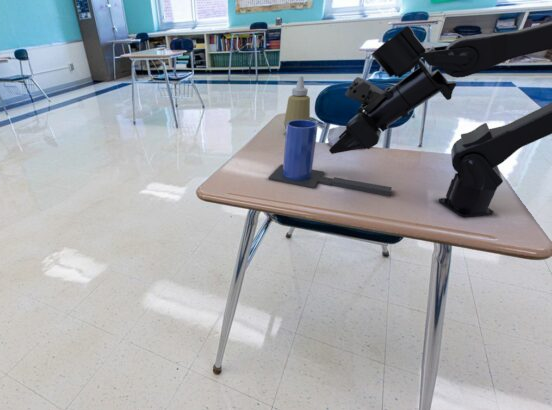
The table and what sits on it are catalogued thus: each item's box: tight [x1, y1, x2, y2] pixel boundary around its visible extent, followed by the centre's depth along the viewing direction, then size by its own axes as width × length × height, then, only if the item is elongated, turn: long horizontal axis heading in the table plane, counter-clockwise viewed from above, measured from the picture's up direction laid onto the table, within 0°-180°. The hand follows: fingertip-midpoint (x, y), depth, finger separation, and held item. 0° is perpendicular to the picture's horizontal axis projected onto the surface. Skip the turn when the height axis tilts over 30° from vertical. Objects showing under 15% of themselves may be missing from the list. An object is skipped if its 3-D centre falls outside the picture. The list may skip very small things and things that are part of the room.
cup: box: [282, 119, 319, 180], centre depth 77 cm, size 7×7×12 cm
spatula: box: [268, 163, 393, 197], centre depth 77 cm, size 26×9×1 cm, turn 59°
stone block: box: [326, 125, 346, 147], centre depth 99 cm, size 12×5×10 cm
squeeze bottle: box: [283, 75, 311, 130], centre depth 104 cm, size 8×8×18 cm
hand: (335, 145), depth 72 cm, fingers open, 9 cm apart
